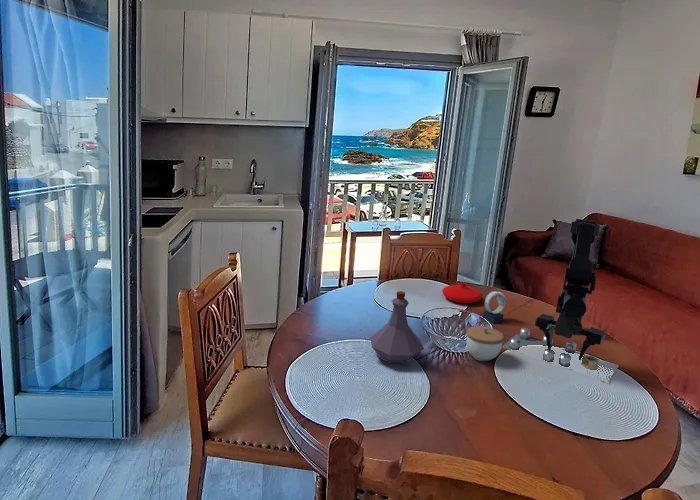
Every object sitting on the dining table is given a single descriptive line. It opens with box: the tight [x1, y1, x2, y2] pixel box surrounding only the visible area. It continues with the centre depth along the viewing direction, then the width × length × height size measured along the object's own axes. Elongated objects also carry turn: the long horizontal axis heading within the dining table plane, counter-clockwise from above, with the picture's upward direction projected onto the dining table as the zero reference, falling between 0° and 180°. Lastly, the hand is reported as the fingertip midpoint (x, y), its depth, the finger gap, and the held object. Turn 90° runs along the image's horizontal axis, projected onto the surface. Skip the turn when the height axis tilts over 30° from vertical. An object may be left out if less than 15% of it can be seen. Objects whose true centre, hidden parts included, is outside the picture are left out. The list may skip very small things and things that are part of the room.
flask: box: [369, 290, 425, 364], centre depth 142 cm, size 16×16×20 cm
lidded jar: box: [465, 325, 505, 362], centre depth 146 cm, size 11×11×9 cm
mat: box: [501, 333, 619, 383], centre depth 150 cm, size 14×31×1 cm, turn 52°
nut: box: [581, 354, 599, 370], centre depth 144 cm, size 5×4×3 cm
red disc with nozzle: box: [441, 281, 483, 304], centre depth 195 cm, size 16×16×7 cm
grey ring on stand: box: [482, 290, 508, 324], centre depth 174 cm, size 6×8×11 cm
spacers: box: [509, 327, 578, 367], centre depth 152 cm, size 14×18×3 cm
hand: (564, 354), depth 149 cm, fingers open, 9 cm apart
